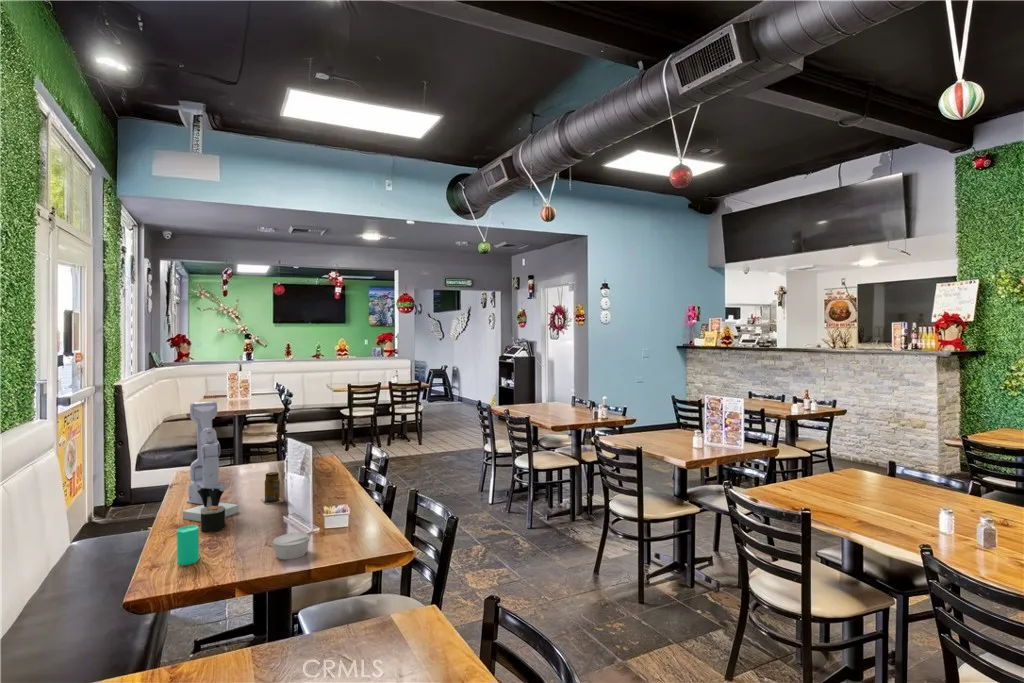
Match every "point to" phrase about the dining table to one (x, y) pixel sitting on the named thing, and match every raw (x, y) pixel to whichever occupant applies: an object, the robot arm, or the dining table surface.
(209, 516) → the sushi
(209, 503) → the peg
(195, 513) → the socket
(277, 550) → the ramekin
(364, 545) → the dining table surface
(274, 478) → the condiment
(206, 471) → the robot arm
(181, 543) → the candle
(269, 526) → the dining table surface
